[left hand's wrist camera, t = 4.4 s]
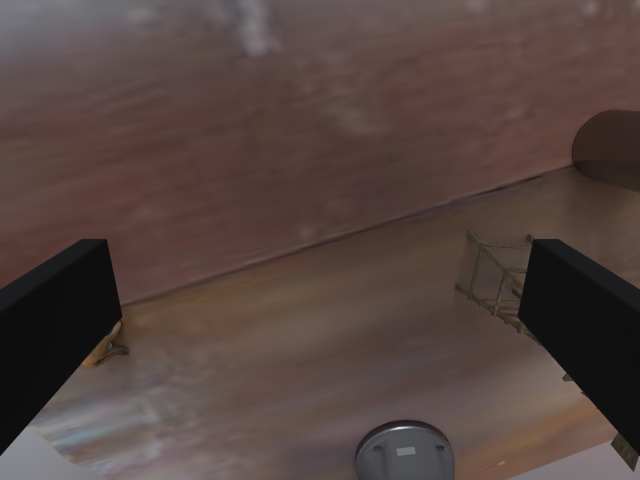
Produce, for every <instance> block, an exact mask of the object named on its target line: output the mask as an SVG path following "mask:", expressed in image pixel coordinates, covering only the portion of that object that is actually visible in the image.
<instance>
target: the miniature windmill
mask: <svg viewBox="0 0 640 480" xmlns="http://www.w3.org/2000/svg"><path fill="white" fill-rule="evenodd" d="M467 234H468V235H469V237H470V238H471V239H472V240H473V241H474V242H475V243H476V244H477V245H478V246H479V247H480V249H479V253H478V257H477V261H476V265H475V270H474V274H473V278H472V282H471V286H470V291H467V290H466V289H464V288H463V287H461V286H460V285H456V290H458V291H459V292H461V293H462V294H464V295H465V296H467V297H468V299H467V300H473V301H475V302H476V303H478V304H479V307H480V308H485V309H487V310H488V311H490V312H491V315H492V316H498V317H499V318H501V319H502V320H504V323H505V324H510V325H511V326H513V327H515V328H516V329H518V330H517V332H518V333H520V334H521V335H523V334H525V335H527V336H528V337H530V338H531V339H533V340H534V341H536V342H538V345H539V346H543V345H542V344H541V343H540V342H539V341H538V340H537V339H536V337H535V336H534V335H533V334H532V333H531V332H530V331H529V330H528V329H526V328H525V325H524V324H523V323H522V322H516V321H514V320H512V319H511V318H509V317H518V314H505V313H502V312H500V311H499V310H498V309H504V310H519V308H513V307H499V304H500V302H501V303H516V304H520V302H521V301H507V300H501V296H502V293H503V289H504V285H505V281H506V278H507V277H508V278H509V279H510V280H511V281H512V282H513V283H514V284H515V285H516V286H517V287H518V288H519V289H520V290H521V291H522V292H523V287H524V284H523V283H522V282H521V281H520V280H519V279H518V278H517V277H516V276H515V275H514V274H513V273H512V272H518V273H526V272H527V270H525V269H511V268H507V267H506V266H505V265H504V264H503V262H502V261H501V260H500V259H499V258H498V257H497V256H496V255H495V254H494V253H493V252H492V251H491V250H490V249H489V248H488V247H487V246H491V247H505V248H518V249H531V248H532V246H520V245H507V244H493V243H483V242H482V241H481V240H480V239H479V238H478V237H477V235H476V234H475V233H474V232H473V231H472V230H469V231H468V233H467ZM527 239H528V240H529V242H530V244H531V245H532V243H533V239H534V237H533V236H532V235H528V238H527ZM482 251H484V252H485V253H486V254H487V255H488V257H489V258H490V259H491V260H492V261H493V262H494V263H495V264H496V265H497V266H498V267H499V268H500V269H501V270H502V271H503V272H504V273H503V277H502V281H501V285H500V288H499V292H498V296H497V299H496V300H493V299H480V298H478V297H477V296H475V295H474V294H472V292H473V288H474V284H475V280H476V276H477V272H478V267H479V263H480V259H481V255H482ZM513 294H514V295H515V296H517V297H518V298H519V299H520V300H521V297H522V294H521V293H520V292H519V291H518V290H517V289H513ZM485 301H487V302H496V303H495V306H491V305H489V304H488V303H486V302H485ZM562 379H564V381H573V380H572V378H571V377H570V376H569V375H568V374H567V373H566V375H565V376H564V377H563V378H562ZM581 393H582V394H584V395H585V396H587V395H586V394H585V393H584V392H581ZM597 409H598V408H597ZM611 445H612V446H613V448H614V449H615V450H616V451H617V452H618V454H619V455H620V456H621V457H622V458H623V460H624V461H625V462H626V463H627V465H628V466H629V467H630V468H631V469H632V471H633V472H634V470H635V467H636V463H637V460H638V457H639V455H638V454H637V452H636V451H635V450H634V449H633V448H632V447H631V446H630V444H629V443H628V442H627V441H626V440H625V439H624V438H623V436H622V435H621V434H620V433H619V432H618V434H617V435H616V437H615V438H614V440H613V441H612V443H611Z"/></svg>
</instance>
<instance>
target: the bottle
mask: <svg viewBox="0 0 640 480" xmlns="http://www.w3.org/2000/svg"><path fill="white" fill-rule="evenodd" d="M572 157H573V161H574V164H575V166H576V168H577V169H578V170H579V171H580V172H581V173H582V174H584V175H585V176H588V177H590V178H594V179H597V180H600V181H603V182H606V183H609V184H612V185H616V186H619V187H622V188H625V189H628V190H631V191H635V192H638V193H640V111H629V110H609V111H605V112H602V113H600V114H598V115H596V116H594V117H592V118H591V119H590V120H589V121H587V122H586V123H585V124H584V125H583V126H582V128H581V129H580V130H579V132H578V134H577V135H576V138H575V140H574V143H573V148H572Z"/></svg>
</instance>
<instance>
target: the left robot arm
mask: <svg viewBox="0 0 640 480" xmlns="http://www.w3.org/2000/svg"><path fill="white" fill-rule="evenodd" d="M121 318H122V312H121V307H120V302H119V297H118V292H117V287H116V282H115V277H114V272H113V268H112V263H111V258H110V253H109V248H108V243H107V239H81V240H80V241H78V242H76V243H75V244H73V245H72V246H70V247H68V248H67V249H65V250H63V251H62V252H60V253H59V254H57V255H55V256H54V257H52V258H50V259H49V260H47V261H46V262H44V263H42V264H41V265H39V266H38V267H36V268H34V269H33V270H31V271H29V272H28V273H26V274H25V275H23V276H21V277H20V278H18V279H17V280H15V281H13V282H12V283H10V284H8V285H7V286H5V287H4V288H2V289H0V456H1V455H2V454H3V452H4V451H5V450H6V449H7V448H8V447H9V446H10V444H11V443H12V442H13V441H14V440H15V439H16V438H17V436H18V435H19V434H20V433H21V432H22V431H23V430H24V429H25V427H26V426H27V425H28V424H29V423H30V422H31V421H32V419H33V418H34V417H35V416H36V415H37V414H38V413H39V411H40V410H41V409H42V408H43V407H44V406H45V405H46V403H47V402H48V401H49V400H50V399H51V398H52V397H53V395H54V394H55V393H56V392H57V391H58V390H59V389H60V388H61V386H62V385H63V384H64V383H65V382H66V381H67V380H68V378H69V377H70V376H71V375H72V374H73V373H74V372H75V370H76V369H77V368H78V367H79V366H80V365H81V364H82V362H83V361H84V360H85V359H86V358H87V357H88V356H89V354H90V353H91V352H92V351H93V350H94V349H95V348H96V347H97V345H98V344H99V343H100V342H101V341H102V340H103V339H104V337H105V336H106V335H107V334H108V333H109V332H110V331H111V329H112V328H113V327H114V326H115V325H116V324H117V323H118V321H119V320H120V319H121ZM518 318H519V319H520V320H521V321H522V323H523V324H524V325H525V326H526V327H527V328H528V329H529V331H530V332H531V333H532V334H533V335H534V336H535V337H536V339H537V340H538V341H539V342H540V343H541V344H542V345H543V347H544V348H545V349H546V350H547V351H548V352H549V353H550V354H551V356H552V357H553V358H554V359H555V360H556V361H557V362H558V364H559V365H560V366H561V367H562V368H563V369H564V370H565V372H566V373H567V374H568V375H569V376H570V377H571V378H572V380H573V381H574V382H575V383H576V384H577V385H578V386H579V388H580V389H581V390H582V391H583V392H584V393H585V394H586V395H587V397H588V398H589V399H590V400H591V401H592V402H593V403H594V405H595V406H596V407H597V408H598V409H599V410H600V411H601V413H602V414H603V415H604V416H605V417H606V418H607V419H608V421H609V422H610V423H611V424H612V425H613V426H614V427H615V429H616V430H617V431H618V432H619V433H620V434H621V435H622V436H623V438H624V439H625V440H626V441H627V442H628V443H629V444H630V446H631V447H632V448H633V449H634V450H635V451H636V452H637V454H638V455H639V456H640V289H638V288H636V287H635V286H633V285H632V284H630V283H628V282H627V281H625V280H623V279H622V278H620V277H619V276H617V275H615V274H614V273H612V272H611V271H609V270H607V269H606V268H604V267H602V266H601V265H599V264H598V263H596V262H594V261H593V260H591V259H590V258H588V257H586V256H585V255H583V254H581V253H580V252H578V251H577V250H575V249H573V248H572V247H570V246H568V245H567V244H565V243H564V242H562V241H560V240H559V239H533V243H532V248H531V253H530V258H529V263H528V268H527V272H526V277H525V282H524V287H523V292H522V297H521V302H520V307H519V312H518ZM356 470H357V474H358V478H359V480H455V464H454V456H453V453H452V450H451V447H450V444H449V442H448V440H447V438H446V437H445V436H444V435H443V434H442V433H441V432H440V431H439V430H438V429H436V428H434V427H433V426H431V425H428V424H426V423H422V422H417V421H396V422H391V423H388V424H385V425H382V426H380V427H378V428H376V429H374V430H373V431H371V432H370V433H369V434H368V435H367V436H365V437H364V439H363V440H362V441H361V443H360V444H359V446H358V448H357V451H356Z"/></svg>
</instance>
